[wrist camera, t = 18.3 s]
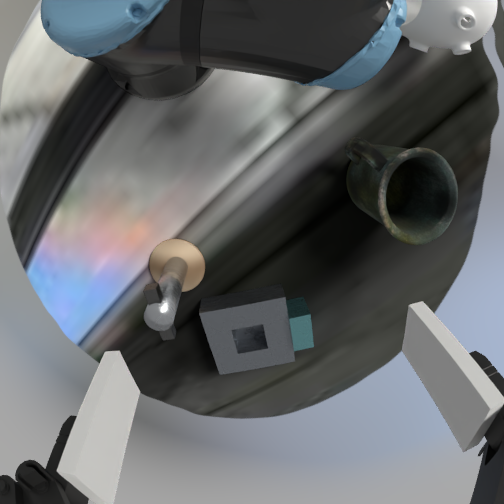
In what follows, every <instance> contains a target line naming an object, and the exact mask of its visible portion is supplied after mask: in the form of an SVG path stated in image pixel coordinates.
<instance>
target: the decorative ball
mask: <svg viewBox="0 0 504 504" xmlns="http://www.w3.org/2000/svg"><path fill="white" fill-rule="evenodd" d="M406 3H407V16H406V21H405V22H404V23H403V24H402V25H401V26H400V30H401V32H402V35H403V36H405V37H406V38H408V39H409V41H410V44H409V46H410V47H412V48H415V49H418V50H421V51H423V52H428V49H429V48H430V47H436V48H448V49H449V48H450V49H452V51H453V53H454V54H455V55H460V54H466V53H469V52H471V48H470V44H472V43H474V42H476V41H477V40H479V39H480V38H482V37H483V36H484V35H485V34H486V33H487V32H488V30H489V29H490V27H491V26H492V24H493V22H494V20H495V16H496V12H497V0H406ZM464 17H470V20H469V21H470V22H468V21H467V20H466V19H465V18H464Z"/></svg>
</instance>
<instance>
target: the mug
mask: <svg viewBox="0 0 504 504" xmlns="http://www.w3.org/2000/svg"><path fill="white" fill-rule="evenodd" d="M345 153H346V155H347V156H348V157H349V158H350V159H351V160H352V161H351V162H350V165H349V167H348V171H347V177H346V182H347V189H348V192H349V195H350V197H351V199H352V201H353V202H354V203H355V205H356V206H357V207H358V208H359V209H361V210H362V211H364V212H365V213H367V214H368V215H370V216H371V217H373V218H374V219H375V220H377V221H378V222H380V223H381V224H383V225H384V226H385V227H386V228H387V230H388V231H389V232H390V233H391V235H392V236H393V237H395V238H396V239H397V240H399V241H401V242H403V243H406V244H410V245H423V244H426V243H429V242H431V241H433V240H435V239H436V238H438V237H439V236H440V235H441V234H442V233H443V232H444V231H445V230H446V229H447V227H448V226H449V224H450V223H451V221H452V219H453V216H454V214H455V211H456V207H457V201H458V188H457V182H456V178H455V175H454V173H453V171H452V169H451V167H450V165H449V164H448V162H447V161H446V160H445V159H444V158H443V157H442V156H441V155H439V154H438V153H436V152H434V151H432V150H430V149H426V148H412V149H405V148H399V147H392V146H386V145H372V144H371V143H369V142H368V141H366V140H364V139H362V138H359V137H355V138H352V139H351V140H350V141H349V142H348V143H347V145H346V147H345Z"/></svg>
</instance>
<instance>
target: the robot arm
mask: <svg viewBox="0 0 504 504" xmlns="http://www.w3.org/2000/svg"><path fill="white" fill-rule="evenodd" d="M406 16H407V3H406V0H42V3H41V20H42V24H43V27H44V29H45V31H46V33H47V34H48V36H49V37H50V38H51V39H52V40H53V41H54V42H55V43H56V44H58V45H59V46H61V47H62V48H63V49H64V50H65V51H67V52H69V53H70V54H73V55H74V56H81V57H83V58H86V59H88V60H91V61H93V62H95V63H98V64H100V65H103V66H105V67H107V69H108V72H109V74H110V76H111V77H112V79H113V80H114V81H115V83H116V84H117V85H118V86H119V87H121V88H122V89H123V90H125V91H126V92H128V93H130V94H132V95H135V96H138V97H140V98H144V99H149V100H166V99H172V98H176V97H179V96H182V95H184V94H186V93H188V92H190V91H192V90H193V89H195V88H196V87H198V86H199V85H200V84H202V83H203V82H204V81H205V80H206V79H207V78H208V77H209V76H210V74H211V73H212V72H213V70H214V69H224V70H232V71H239V72H246V73H253V74H259V75H265V76H270V77H276V78H281V79H286V80H291V81H294V82H295V83H297V84H300V85H304V86H305V85H308V86H313V85H317V86H322V87H327V88H332V89H336V90H347V89H352V88H355V87H358V86H360V85H362V84H364V83H366V82H367V81H368V80H370V79H371V78H372V77H374V76H375V75H376V74H377V73H378V72H379V71H380V70H381V68H382V67H383V66H384V65H385V64H386V62H387V61H388V60H389V58H390V57H391V55H392V54H393V52H394V50H395V48H396V47H397V44H398V42H399V40H400V38H401V35H402V32H401V30H400V26H401V25H402V24H403V23H404V22H405V21H406ZM402 352H403V353H404V354H405V356H406V358H407V359H408V361H409V362H410V364H411V365H412V367H413V369H414V370H415V372H416V373H417V375H418V376H419V378H420V380H421V381H422V383H423V384H424V386H425V388H426V389H427V391H428V392H429V394H430V396H431V397H432V399H433V400H434V402H435V404H436V406H437V407H438V409H439V411H440V412H441V414H442V415H443V417H444V419H445V420H446V422H447V424H448V426H449V427H450V429H451V431H452V432H453V434H454V436H455V438H456V440H457V441H458V443H459V445H460V447H461V449H462V450H463V452H465V451H467V450H468V449H470V448H472V447H474V446H476V445H478V444H479V442H480V441H481V440H482V438H483V437H484V436H485V438H486V440H487V442H486V443H485V445H484V446H483V447H482V449H481V450H480V452H479V454H478V456H480V455H481V454H482V453H483V457H482V461H481V466H480V470H479V474H478V478H477V482H476V485H475V488H474V492H473V495H472V499H471V502H470V504H504V378H503V377H502V376H501V375H500V373H498V372H497V370H496V368H495V367H494V366H492V364H491V362H490V361H489V360H488V359H487V358H486V357H485V356H484V355H482V354H480V353H479V352H477V351H474V352H471V353H468V352H467V351H466V349H465V348H464V347H463V346H462V345H461V344H460V342H459V341H458V340H457V339H456V338H455V337H454V336H453V335H452V333H451V332H450V331H449V330H448V329H447V328H446V327H445V325H444V324H443V323H442V322H441V321H440V320H439V319H438V318H437V316H436V315H435V314H434V313H433V312H432V311H431V310H430V309H429V308H428V307H427V306H426V304H425V303H424V302H423V301H422V302H418V303H415V304H411V305H409V308H408V315H407V322H406V329H405V335H404V341H403V347H402ZM139 394H140V391H139V389H138V387H137V385H136V383H135V381H134V379H133V377H132V375H131V373H130V371H129V369H128V367H127V365H126V363H125V361H124V359H123V357H122V355H121V353H120V351H108V352H105V353H104V355H103V358H102V360H101V362H100V364H99V366H98V368H97V371H96V373H95V375H94V378H93V380H92V382H91V384H90V387H89V389H88V391H87V393H86V396H85V398H84V401H83V403H82V405H81V408H80V410H79V413H78V415H77V416H70V417H69V418H68V419H67V420H66V421H65V423H64V424H63V426H62V428H61V430H60V433H59V436H58V438H57V440H56V444H55V445H54V448H53V450H52V453H51V455H50V458H49V461H48V463H47V466H46V469H44V468H43V467H42V466H41V465H40V464H39V463H38V462H36V461H34V460H28V461H24V462H23V463H22V464H20V465H19V467H18V468H17V470H16V474H15V476H16V480H17V481H18V482H16V481H14V480H13V479H12V478H11V477H9V476H8V475H2V476H0V504H88V500H89V499H90V500H91V501H92V502H93V503H95V504H114V500H115V495H116V490H117V485H118V480H119V476H120V471H121V467H122V462H123V457H124V454H125V449H126V445H127V441H128V437H129V433H130V429H131V425H132V421H133V417H134V413H135V410H136V406H137V402H138V398H139ZM483 451H484V452H483Z"/></svg>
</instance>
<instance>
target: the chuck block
mask: <svg viewBox="0 0 504 504" xmlns="http://www.w3.org/2000/svg"><path fill="white" fill-rule="evenodd" d="M199 315H200V318H201V321H202V324H203V327H204V330H205V333H206V336H207V339H208V342H209V345H210V348H211V351H212V353H213V356H214V359H215V362H216V365H217V368H218V371H219V373H220V375H221V374H227V373H234V372H240V371H246V370H252V369H257V368H263V367H268V366H274V365H279V364H284V363H288V362H293V361H295V357H294V351H297V350H302V349H306V348H311V347H314V344H313V334H312V324H311V315H310V312H309V310H308V307H307V305H306V302H305V300H304V297H299V298H295V299H290V300H286V299H285V295H284V291H283V288H282V285H281V284H276V285H271V286H266V287H261V288H256V289H251V290H246V291H241V292H236V293H230V294H225V295H220V296H214V297H209V298H203V299H201V304H200V310H199ZM293 349H294V350H293Z"/></svg>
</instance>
